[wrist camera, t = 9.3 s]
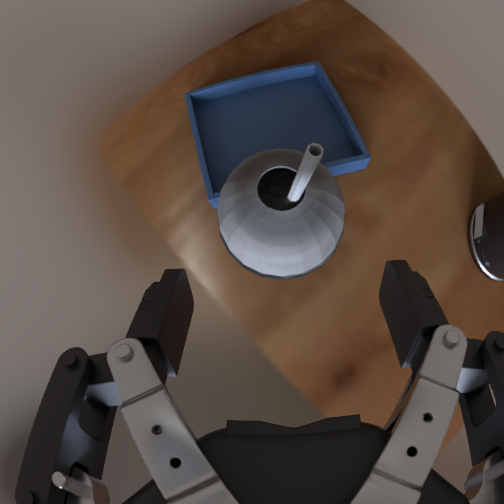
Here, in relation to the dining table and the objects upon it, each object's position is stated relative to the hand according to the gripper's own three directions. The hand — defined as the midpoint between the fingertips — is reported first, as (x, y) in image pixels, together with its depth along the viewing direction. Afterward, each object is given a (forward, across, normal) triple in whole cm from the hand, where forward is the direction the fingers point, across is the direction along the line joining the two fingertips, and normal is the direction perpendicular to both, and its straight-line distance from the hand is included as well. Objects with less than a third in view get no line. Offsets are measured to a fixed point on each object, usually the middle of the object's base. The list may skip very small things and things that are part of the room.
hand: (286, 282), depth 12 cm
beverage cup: (+14, 0, +8) cm, 17 cm away
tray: (+24, 0, -1) cm, 24 cm away
